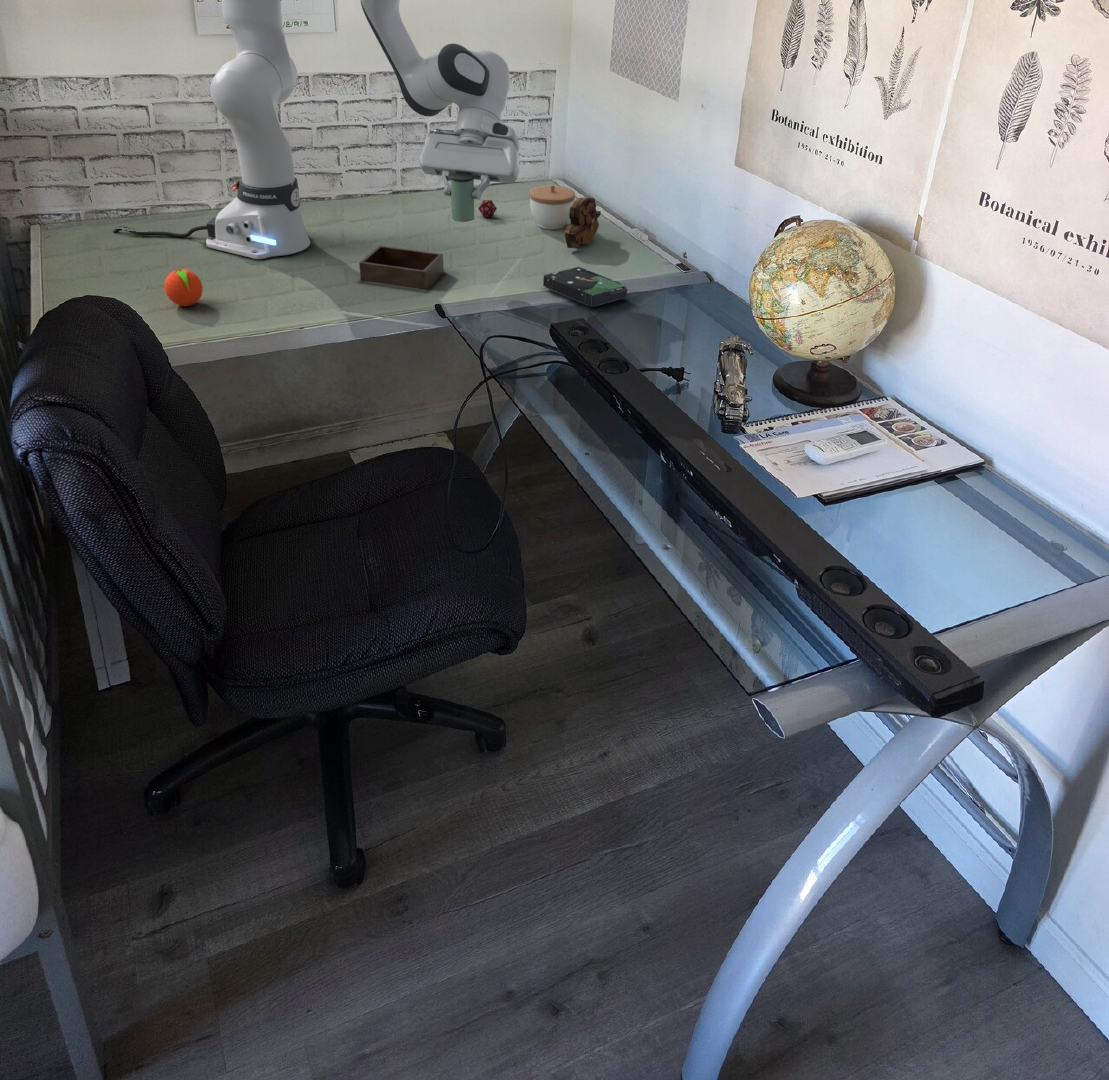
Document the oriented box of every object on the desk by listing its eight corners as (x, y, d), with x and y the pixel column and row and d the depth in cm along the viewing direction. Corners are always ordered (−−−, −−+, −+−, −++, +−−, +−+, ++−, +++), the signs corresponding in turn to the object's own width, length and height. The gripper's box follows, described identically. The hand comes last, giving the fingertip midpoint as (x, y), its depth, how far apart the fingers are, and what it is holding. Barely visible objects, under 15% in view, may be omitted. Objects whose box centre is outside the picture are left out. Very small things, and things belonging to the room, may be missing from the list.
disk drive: (541, 288, 206) (591, 308, 197) (542, 275, 204) (592, 294, 196) (577, 278, 212) (627, 298, 203) (578, 266, 211) (628, 284, 202)
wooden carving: (581, 257, 221) (583, 212, 215) (562, 254, 223) (563, 209, 217) (602, 233, 234) (605, 190, 228) (584, 230, 235) (586, 187, 229)
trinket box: (568, 235, 232) (570, 194, 227) (524, 230, 234) (525, 190, 228) (577, 220, 241) (579, 180, 235) (534, 215, 242) (535, 176, 236)
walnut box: (360, 282, 206) (359, 262, 203) (380, 264, 214) (379, 245, 211) (426, 292, 203) (425, 272, 200) (443, 273, 211) (443, 254, 209)
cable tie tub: (448, 220, 201) (446, 178, 196) (456, 213, 205) (454, 171, 200) (470, 223, 200) (469, 180, 195) (478, 215, 204) (477, 173, 199)
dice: (477, 214, 241) (477, 197, 239) (496, 214, 242) (496, 197, 239) (478, 219, 238) (478, 203, 236) (497, 219, 239) (497, 203, 236)
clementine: (211, 309, 193) (205, 274, 188) (175, 316, 190) (168, 281, 185) (199, 294, 198) (193, 260, 194) (164, 301, 195) (156, 266, 191)
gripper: (423, 119, 200) (408, 183, 198) (520, 129, 196) (506, 194, 194) (432, 136, 206) (417, 198, 204) (526, 147, 202) (512, 210, 201)
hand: (461, 196), depth 199 cm, fingers closed on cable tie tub, 4 cm apart
